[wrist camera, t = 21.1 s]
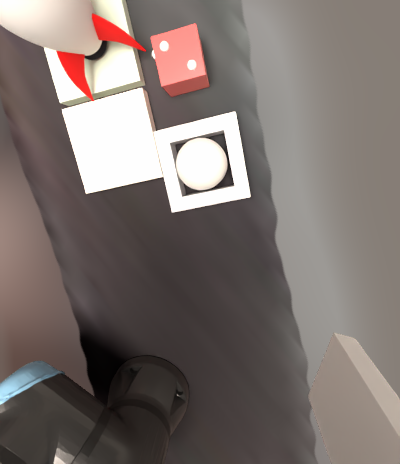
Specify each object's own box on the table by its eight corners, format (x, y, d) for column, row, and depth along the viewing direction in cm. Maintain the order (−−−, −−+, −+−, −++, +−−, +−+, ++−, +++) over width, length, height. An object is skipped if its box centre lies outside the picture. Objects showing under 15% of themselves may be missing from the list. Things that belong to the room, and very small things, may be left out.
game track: (166, 176, 47) (162, 176, 44) (93, 192, 49) (86, 193, 46) (123, -11, 42) (116, -22, 39) (43, 16, 44) (32, 7, 41)
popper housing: (249, 194, 46) (250, 196, 42) (177, 208, 48) (172, 212, 44) (235, 116, 44) (235, 111, 40) (160, 134, 45) (153, 131, 42)
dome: (231, 182, 45) (231, 186, 37) (187, 192, 46) (177, 197, 39) (222, 135, 43) (220, 129, 36) (176, 146, 44) (165, 142, 37)
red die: (209, 86, 43) (205, 73, 37) (167, 98, 44) (156, 86, 38) (200, 38, 42) (194, 15, 35) (157, 51, 43) (143, 31, 36)
